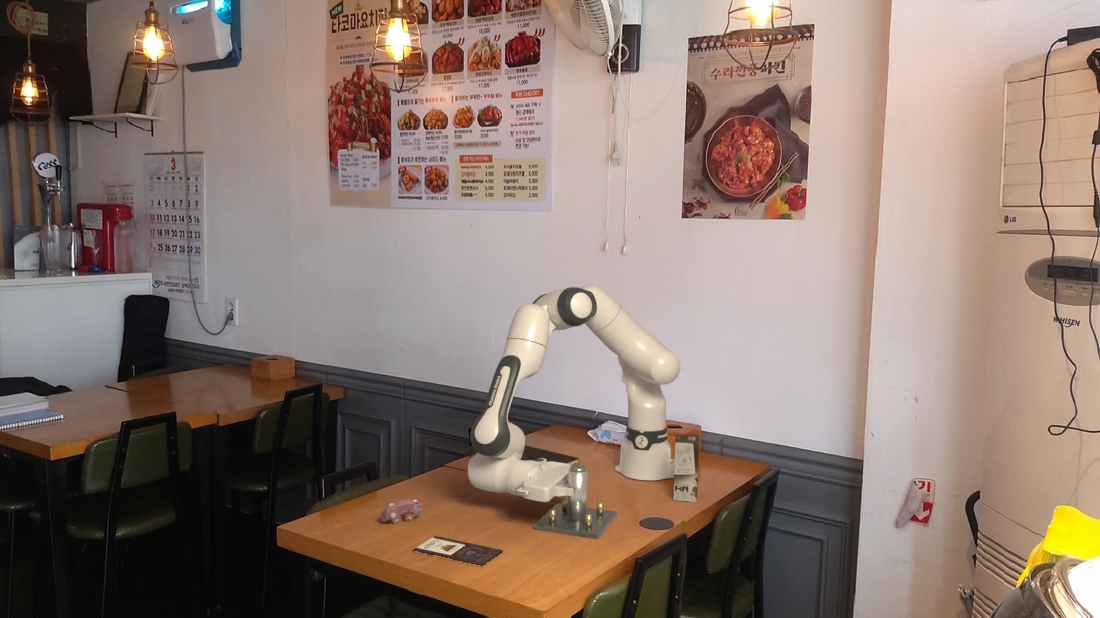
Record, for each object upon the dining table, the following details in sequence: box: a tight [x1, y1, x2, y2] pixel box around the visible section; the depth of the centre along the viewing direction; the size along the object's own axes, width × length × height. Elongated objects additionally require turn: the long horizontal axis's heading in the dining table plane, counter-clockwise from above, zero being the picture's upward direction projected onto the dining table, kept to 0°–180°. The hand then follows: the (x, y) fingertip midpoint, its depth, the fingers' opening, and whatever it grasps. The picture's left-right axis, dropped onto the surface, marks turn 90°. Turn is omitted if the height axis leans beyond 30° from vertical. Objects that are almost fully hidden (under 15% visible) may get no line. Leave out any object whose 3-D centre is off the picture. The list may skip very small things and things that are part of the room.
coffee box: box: [672, 434, 700, 503], centre depth 220 cm, size 9×6×16 cm
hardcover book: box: [521, 444, 580, 465], centre depth 252 cm, size 16×23×2 cm
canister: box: [567, 464, 588, 521], centre depth 200 cm, size 5×5×13 cm
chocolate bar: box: [412, 535, 504, 566], centre depth 182 cm, size 9×1×18 cm
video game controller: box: [380, 499, 424, 524], centre depth 200 cm, size 10×5×7 cm, turn 119°
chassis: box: [533, 496, 618, 540], centre depth 200 cm, size 16×16×4 cm
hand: (580, 485), depth 199 cm, fingers open, 8 cm apart
